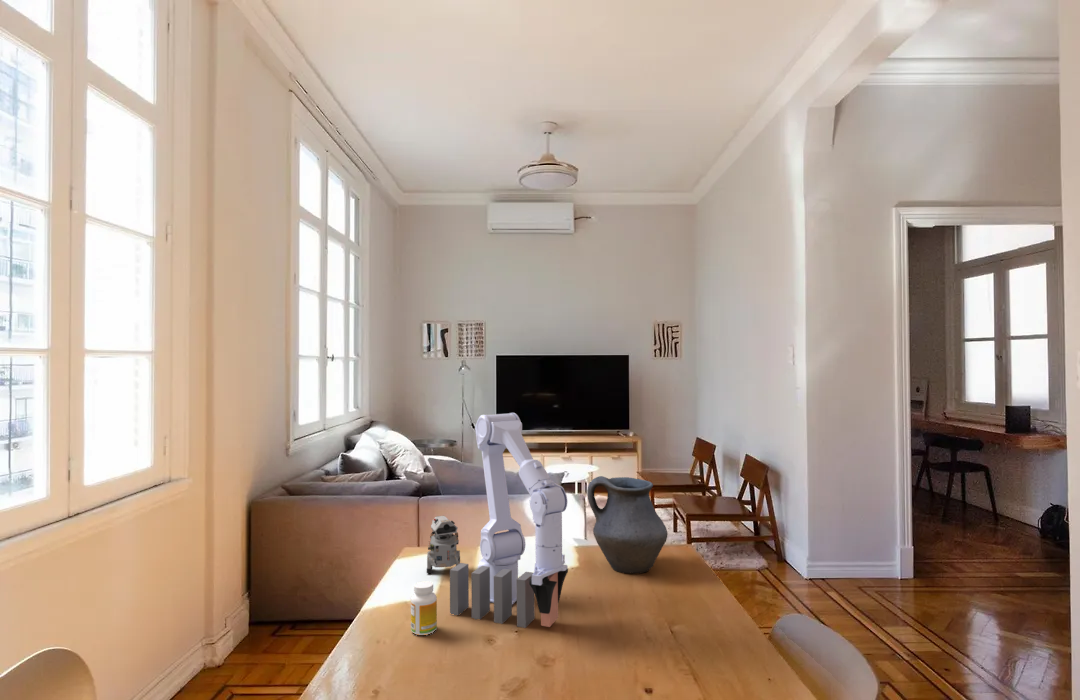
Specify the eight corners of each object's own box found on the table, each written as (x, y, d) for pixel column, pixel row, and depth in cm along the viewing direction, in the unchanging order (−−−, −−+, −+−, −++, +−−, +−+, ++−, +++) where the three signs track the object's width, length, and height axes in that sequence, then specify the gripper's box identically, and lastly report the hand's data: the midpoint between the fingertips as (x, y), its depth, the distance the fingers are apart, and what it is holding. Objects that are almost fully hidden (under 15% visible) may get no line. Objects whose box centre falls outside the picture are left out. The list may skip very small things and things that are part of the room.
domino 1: (450, 614, 133) (449, 569, 133) (461, 606, 138) (460, 562, 138) (457, 616, 132) (457, 570, 133) (468, 607, 137) (468, 563, 137)
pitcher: (675, 581, 152) (674, 484, 153) (590, 581, 152) (589, 484, 153) (660, 555, 173) (659, 469, 173) (585, 556, 173) (584, 470, 174)
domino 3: (493, 622, 129) (493, 576, 129) (503, 613, 134) (503, 568, 134) (502, 623, 128) (501, 577, 128) (511, 614, 133) (511, 569, 133)
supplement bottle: (441, 627, 127) (441, 581, 127) (428, 638, 122) (428, 590, 122) (419, 623, 128) (419, 578, 129) (405, 634, 123) (405, 587, 124)
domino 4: (516, 626, 127) (516, 579, 127) (526, 617, 131) (525, 571, 132) (525, 627, 126) (525, 580, 126) (534, 618, 131) (534, 572, 131)
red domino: (541, 625, 125) (540, 577, 125) (549, 616, 129) (549, 569, 130) (549, 627, 124) (549, 578, 124) (558, 617, 129) (557, 571, 129)
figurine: (424, 582, 153) (424, 524, 153) (428, 567, 164) (428, 513, 165) (459, 581, 154) (459, 523, 154) (461, 566, 165) (461, 512, 166)
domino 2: (471, 618, 131) (471, 572, 131) (482, 609, 136) (481, 565, 136) (479, 619, 130) (479, 574, 130) (489, 611, 135) (489, 566, 135)
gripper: (554, 555, 119) (554, 624, 119) (577, 536, 132) (577, 597, 132) (522, 552, 122) (522, 618, 121) (547, 533, 135) (548, 593, 135)
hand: (549, 607), depth 127 cm, fingers closed on red domino, 5 cm apart
